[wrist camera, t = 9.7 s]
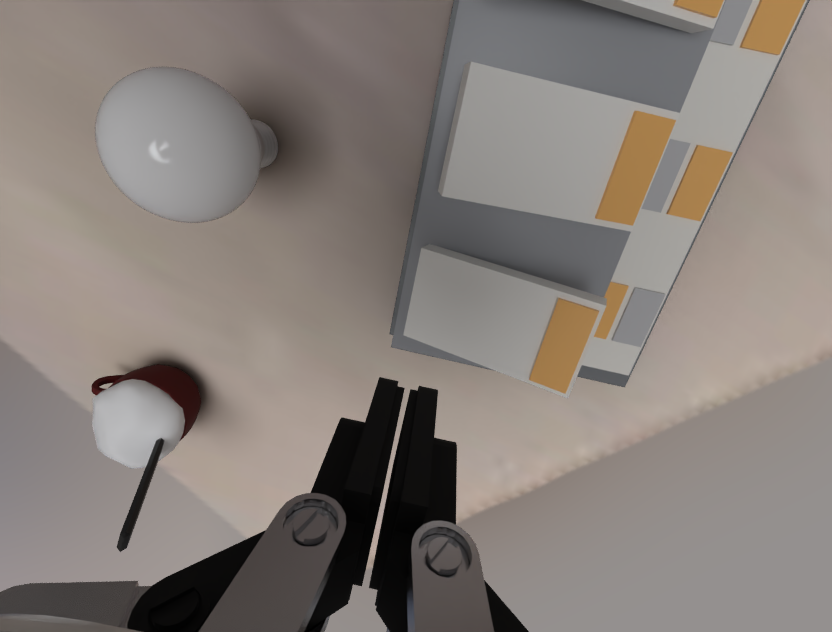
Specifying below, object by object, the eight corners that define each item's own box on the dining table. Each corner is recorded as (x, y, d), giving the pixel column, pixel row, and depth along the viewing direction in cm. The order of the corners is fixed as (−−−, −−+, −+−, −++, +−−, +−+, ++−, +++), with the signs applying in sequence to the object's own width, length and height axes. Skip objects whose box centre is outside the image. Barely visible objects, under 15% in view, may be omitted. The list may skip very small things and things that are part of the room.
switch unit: (491, -183, 19) (499, -279, 15) (842, -111, 19) (960, -187, 15) (393, 324, 30) (380, 359, 26) (617, 375, 30) (644, 419, 25)
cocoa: (117, 371, 35) (-53, 479, 24) (155, 327, 32) (-14, 425, 22) (206, 448, 37) (85, 581, 26) (249, 412, 34) (135, 542, 23)
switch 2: (430, 243, 22) (419, 248, 21) (606, 298, 20) (606, 307, 19) (412, 327, 25) (401, 336, 23) (569, 387, 22) (567, 400, 21)
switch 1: (464, 64, 17) (472, 61, 16) (662, 113, 19) (683, 113, 17) (437, 191, 19) (442, 197, 18) (618, 225, 21) (634, 232, 19)
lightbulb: (228, 63, 25) (64, 16, 15) (328, 120, 25) (237, 114, 15) (198, 166, 27) (41, 187, 17) (290, 215, 28) (190, 264, 18)
